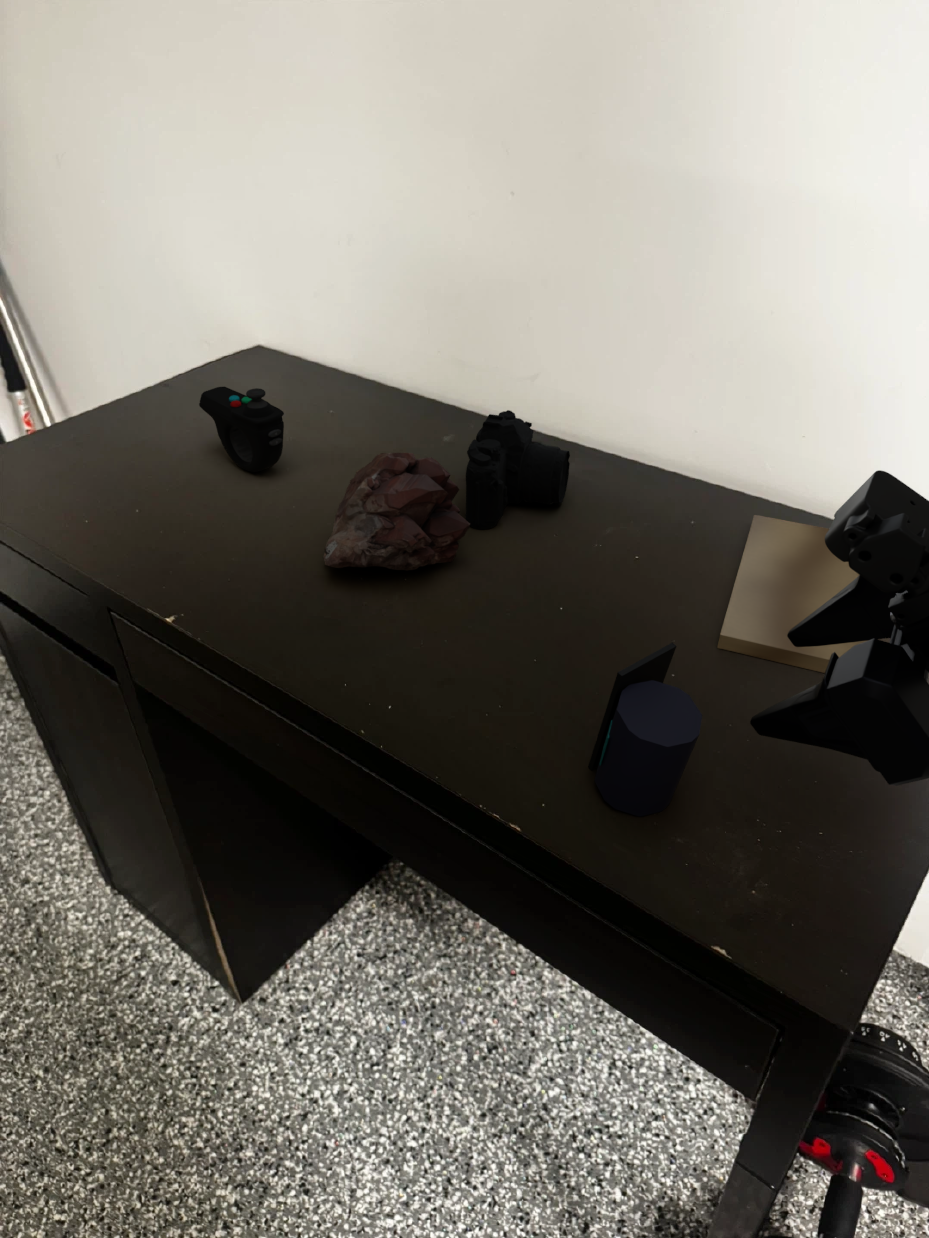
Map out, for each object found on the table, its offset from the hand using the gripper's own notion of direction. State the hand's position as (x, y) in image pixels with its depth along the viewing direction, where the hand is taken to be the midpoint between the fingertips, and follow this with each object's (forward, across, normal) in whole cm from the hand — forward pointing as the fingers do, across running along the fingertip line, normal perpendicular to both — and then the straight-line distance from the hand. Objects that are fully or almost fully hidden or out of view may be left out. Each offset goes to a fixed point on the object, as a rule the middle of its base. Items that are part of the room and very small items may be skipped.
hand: (773, 680), depth 54 cm
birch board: (+10, -30, +8) cm, 32 cm away
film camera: (+32, -33, -14) cm, 48 cm away
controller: (+55, -25, -36) cm, 70 cm away
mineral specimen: (+36, -16, -18) cm, 43 cm away
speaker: (+14, 0, +4) cm, 15 cm away
